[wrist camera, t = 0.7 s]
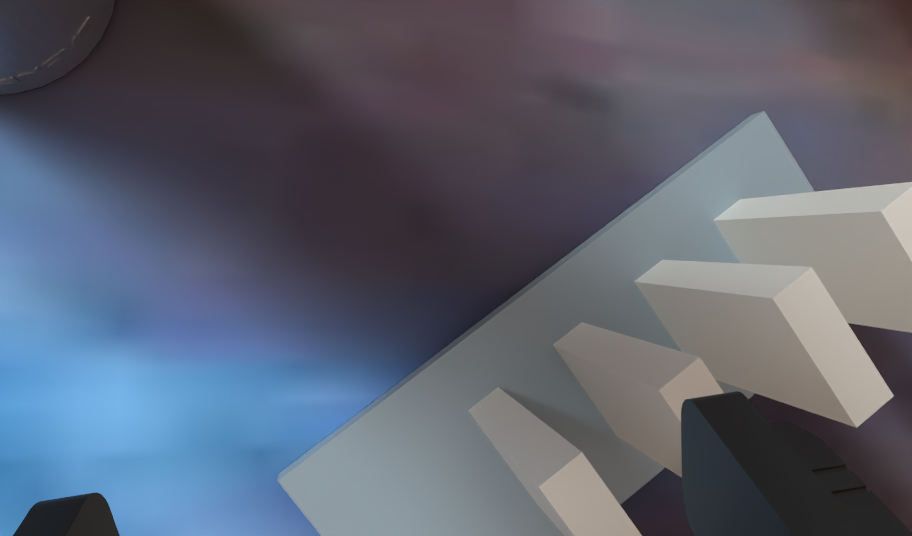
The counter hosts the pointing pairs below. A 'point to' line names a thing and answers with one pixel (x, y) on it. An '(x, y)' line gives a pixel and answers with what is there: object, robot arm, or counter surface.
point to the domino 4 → (768, 334)
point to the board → (531, 369)
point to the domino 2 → (637, 387)
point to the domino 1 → (551, 470)
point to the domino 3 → (836, 245)
